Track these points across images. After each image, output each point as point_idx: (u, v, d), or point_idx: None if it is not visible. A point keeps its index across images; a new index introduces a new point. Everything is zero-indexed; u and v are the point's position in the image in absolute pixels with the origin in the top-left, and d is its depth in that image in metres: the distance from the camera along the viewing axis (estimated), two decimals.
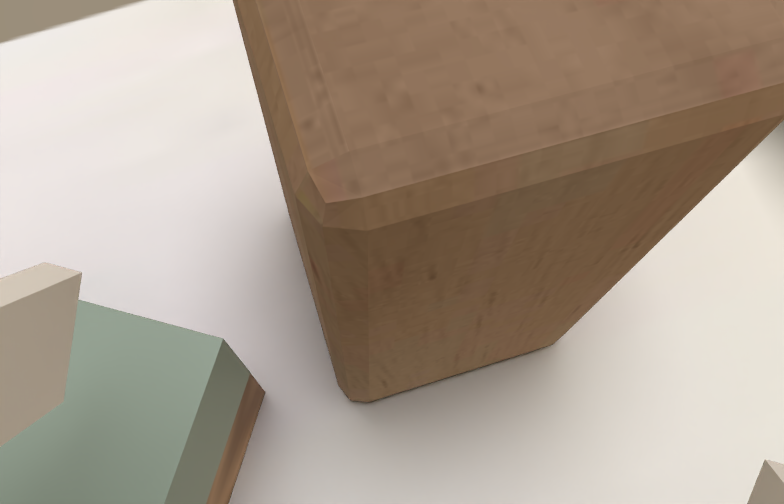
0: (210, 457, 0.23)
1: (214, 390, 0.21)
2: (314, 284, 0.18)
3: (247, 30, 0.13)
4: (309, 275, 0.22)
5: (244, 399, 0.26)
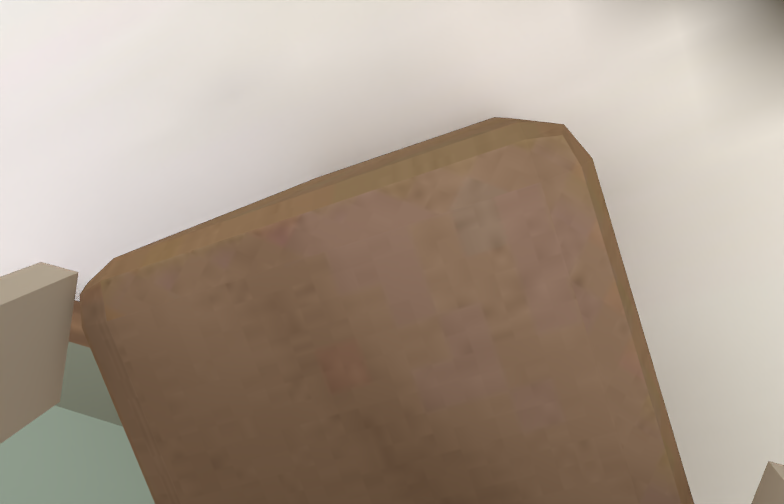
0: None
1: None
2: None
3: None
4: None
5: None
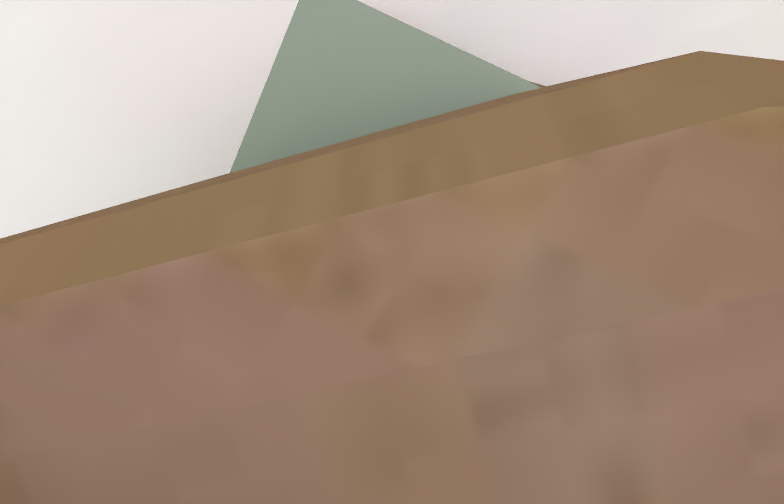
0: None
1: None
2: None
3: None
4: None
5: None
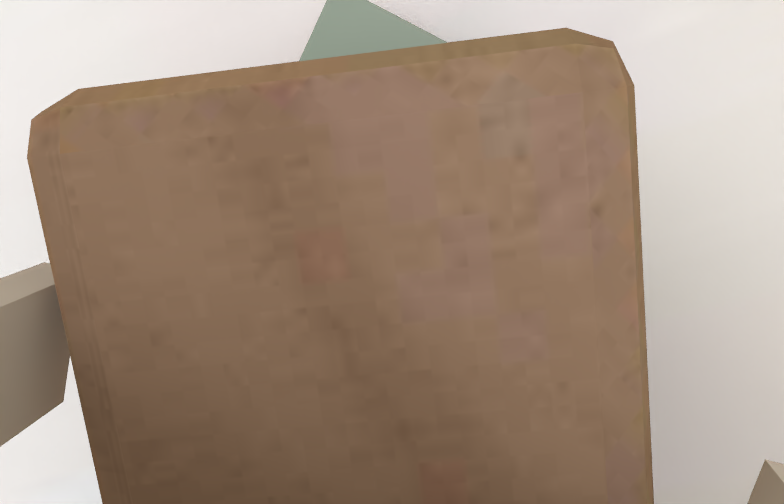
0: None
1: None
2: None
3: None
4: None
5: None
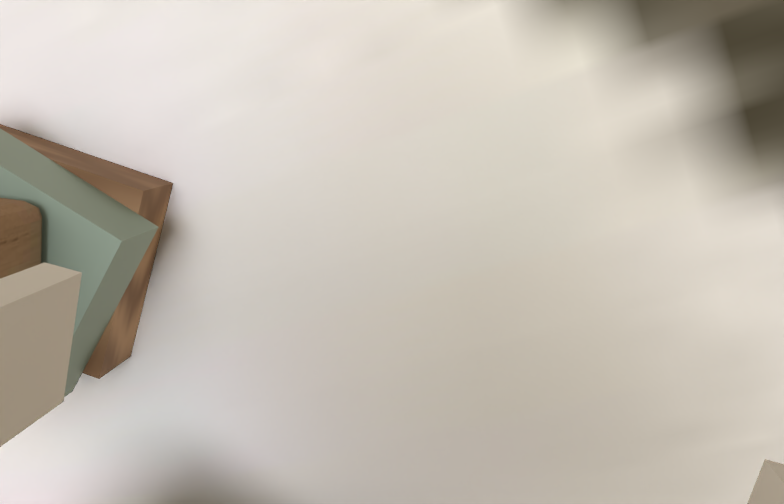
0: (127, 271, 0.47)
1: (120, 256, 0.44)
2: None
3: None
4: None
5: (149, 201, 0.48)
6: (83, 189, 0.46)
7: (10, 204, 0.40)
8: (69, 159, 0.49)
